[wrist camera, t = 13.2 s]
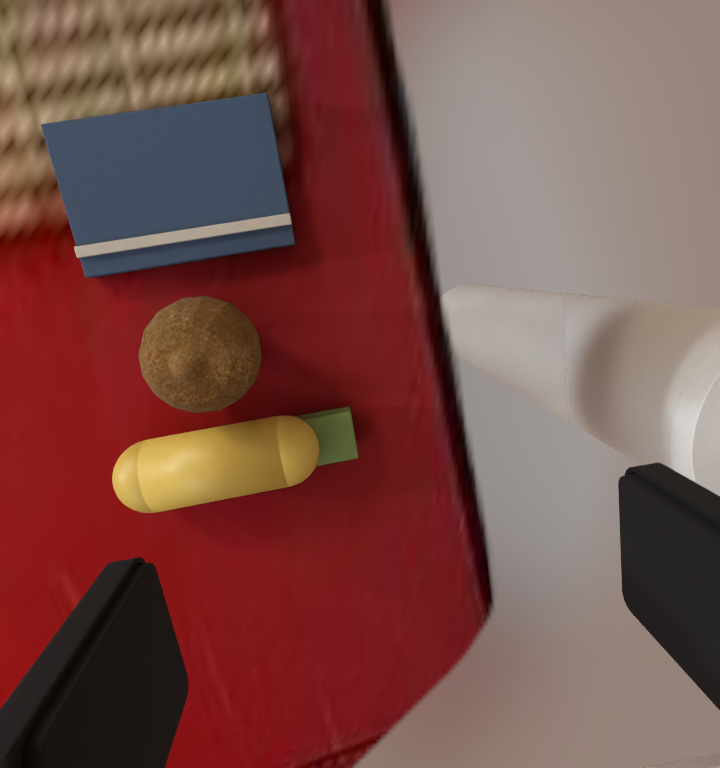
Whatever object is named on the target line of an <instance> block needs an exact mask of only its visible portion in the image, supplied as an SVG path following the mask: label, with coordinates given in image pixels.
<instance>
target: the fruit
mask: <svg viewBox="0 0 720 768" xmlns="http://www.w3.org/2000/svg"><path fill="white" fill-rule="evenodd" d="M139 360H140V365H141V370H142V375H143V377H144V379H145V380H146V382H147V383H148V385H149V386H150V388H151V389H152V391H153V392H154V394H155V395H156V396H158V397H159V398H161V399H162V400H163V401H165V402H166V403H168V404H169V405H170V406H172V407H174V408H177V409H181V410H185V411H189V412H193V413H198V412H207V411H217V410H221V409H223V408H225V407H227V406H229V405H231V404H233V403H234V402H236V401H238V400H240V399H241V398H242V397H243V395H244V394H245V393H246V392H247V391H248V389H249V388H250V387H251V386H252V384H253V383H254V382H255V381H256V378H257V375H258V371H259V367H260V364H261V360H262V355H261V347H260V340H259V335H258V333H257V332H256V330H255V328H254V326H253V325H252V323H251V321H250V320H249V318H248V317H247V316H246V315H245V314H244V313H242V312H241V311H240V310H238V309H237V308H236V307H235V306H233V305H232V304H231V303H228V302H225V301H221V300H218V299H215V298H211V297H208V296H203V297H191V298H182V299H180V300H178V301H176V302H175V303H173V304H171V305H169V306H167V307H165V308H163V309H162V310H160V311H159V312H158V313H157V314H156V315H155V317H154V318H153V319H152V320H151V322H150V323H149V324H148V326H147V327H146V328H145V330H144V333H143V338H142V342H141V346H140V351H139Z"/></svg>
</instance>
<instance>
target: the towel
mask: <svg viewBox="0 0 720 768" xmlns="http://www.w3.org/2000/svg"><path fill="white" fill-rule="evenodd" d="M41 127H42V130H43V134H44V137H45V141H46V144H47V147H48V151H49V154H50V158H51V161H52V164H53V168H54V171H55V175H56V178H57V182H58V185H59V188H60V192H61V195H62V199H63V202H64V205H65V209H66V212H67V216H68V219H69V223H70V226H71V229H72V233H73V236H74V240H75V243H76V247H74V249H75V253H76V256H77V258H80V260H81V264H82V267H83V270H84V274H85V277H86V278H93V277H101V276H107V275H113V274H119V273H125V272H132V271H138V270H144V269H150V268H157V267H163V266H169V265H175V264H181V263H188V262H194V261H200V260H206V259H213V258H219V257H225V256H231V255H237V254H244V253H250V252H256V251H262V250H268V249H275V248H281V247H287V246H293V245H295V244H296V243H295V237H294V232H293V226H292V221H291V216H290V210H289V205H288V199H287V194H286V188H285V183H284V178H283V172H282V167H281V161H280V156H279V151H278V145H277V140H276V134H275V129H274V123H273V118H272V113H271V107H270V102H269V97H268V94H267V93H262V94H255V95H248V96H240V97H233V98H226V99H219V100H212V101H205V102H197V103H190V104H183V105H176V106H169V107H162V108H154V109H147V110H140V111H133V112H126V113H119V114H112V115H104V116H97V117H90V118H83V119H76V120H69V121H61V122H54V123H47V124H42V125H41Z"/></svg>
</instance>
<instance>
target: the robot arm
mask: <svg viewBox="0 0 720 768" xmlns="http://www.w3.org/2000/svg"><path fill="white" fill-rule="evenodd" d="M618 486H619V511H620V540H621V569H622V592H623V596H624V600H625V603H626V605H627V607H628V608H629V610H630V611H631V613H632V614H633V615H634V616H635V617H636V618H637V619H638V620H639V621H640V623H641V624H642V625H643V626H644V627H645V628H646V629H647V630H648V631H649V633H650V634H651V635H652V636H653V637H654V638H655V639H656V640H657V641H658V642H659V644H660V645H661V646H662V647H663V648H664V649H665V650H666V651H667V652H668V654H669V655H670V656H671V657H672V658H673V659H674V660H675V661H676V662H677V663H678V665H679V666H680V667H681V668H682V669H683V670H684V671H685V672H686V673H687V674H688V676H689V677H690V678H691V679H692V680H693V681H694V682H695V683H696V684H697V686H698V687H699V688H700V689H701V690H702V691H703V692H704V693H705V694H706V695H707V697H708V698H709V699H710V700H711V701H712V702H713V703H714V704H715V706H716V707H717V708H718V709H719V710H720V496H718V495H717V494H715V493H713V492H711V491H710V490H708V489H706V488H704V487H703V486H701V485H699V484H697V483H695V482H694V481H692V480H690V479H688V478H687V477H685V476H683V475H681V474H680V473H678V472H676V471H674V470H673V469H671V468H669V467H667V466H666V465H664V464H661V463H659V462H658V463H652V464H646V465H641V466H636V467H630V468H628V469H627V470H626V473H625V476H622V477H621V478H620V480H619V485H618ZM187 695H188V676H187V672H186V669H185V666H184V662H183V659H182V655H181V652H180V649H179V645H178V642H177V638H176V635H175V632H174V628H173V625H172V621H171V618H170V615H169V611H168V608H167V604H166V601H165V598H164V594H163V591H162V587H161V584H160V581H159V577H158V574H157V570H156V568H155V566H154V565H153V564H152V563H147V564H146V562H145V561H144V559H143V558H141V557H138V558H133V559H127V560H122V561H116V562H111V563H109V564H108V565H107V566H106V567H105V568H104V569H103V571H102V572H101V573H100V575H99V576H98V577H97V579H96V580H95V582H94V583H93V584H92V586H91V587H90V588H89V590H88V591H87V592H86V594H85V595H84V596H83V598H82V599H81V601H80V602H79V603H78V605H77V606H76V607H75V609H74V610H73V611H72V613H71V614H70V615H69V617H68V618H67V620H66V621H65V622H64V624H63V625H62V626H61V628H60V629H59V630H58V632H57V633H56V634H55V636H54V637H53V639H52V640H51V641H50V643H49V644H48V645H47V647H46V648H45V649H44V651H43V652H42V653H41V655H40V656H39V658H38V659H37V660H36V662H35V663H34V664H33V666H32V667H31V668H30V670H29V671H28V672H27V674H26V675H25V677H24V678H23V679H22V681H21V682H20V683H19V685H18V686H17V687H16V689H15V690H14V691H13V693H12V694H11V696H10V697H9V698H8V700H7V701H6V702H5V704H4V705H3V706H2V708H1V709H0V768H165V765H166V762H167V759H168V756H169V752H170V749H171V746H172V743H173V740H174V737H175V734H176V731H177V727H178V724H179V721H180V718H181V715H182V712H183V709H184V705H185V702H186V699H187ZM645 768H720V753H716V754H711V755H706V756H701V757H696V758H691V759H686V760H681V761H675V762H670V763H666V764H660V765H656V766H651V767H645Z"/></svg>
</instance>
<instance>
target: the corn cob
mask: <svg viewBox="0 0 720 768" xmlns="http://www.w3.org/2000/svg"><path fill="white" fill-rule="evenodd" d="M358 457H359V456H358V450H357V445H356V439H355V433H354V427H353V421H352V416H351V411H350V408H349V407H343V408H338V409H332V410H327V411H321V412H316V413H310V414H305V415H300V416H294V417H293V416H287V415H282V416H274V417H268V418H263V419H257V420H252V421H246V422H241V423H235V424H230V425H225V426H219V427H214V428H208V429H203V430H197V431H192V432H186V433H181V434H176V435H170V436H165V437H159V438H154V439H148V440H144V441H141V442H138V443H136V444H134V445H132V446H131V447H129V448H128V449H127V450H126V451H124V452H123V454H122V455H121V456H120V457H119V459H118V460H117V462H116V464H115V467H114V470H113V477H112V482H113V487H114V490H115V493H116V495H117V497H118V498H119V499H120V500H121V501H122V503H123V504H125V505H126V506H127V507H129V508H131V509H133V510H135V511H138V512H144V513H154V512H161V511H166V510H171V509H177V508H182V507H187V506H192V505H197V504H202V503H208V502H213V501H218V500H223V499H228V498H233V497H239V496H244V495H249V494H254V493H259V492H264V491H270V490H275V489H280V488H285V487H290V486H293V485H297V484H299V483H300V482H302V481H304V480H305V479H306V478H308V477H309V476H310V474H311V473H312V472H313V471H314V469H315V467H316V466H320V465H325V464H330V463H336V462H341V461H346V460H351V459H357V458H358Z"/></svg>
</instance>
